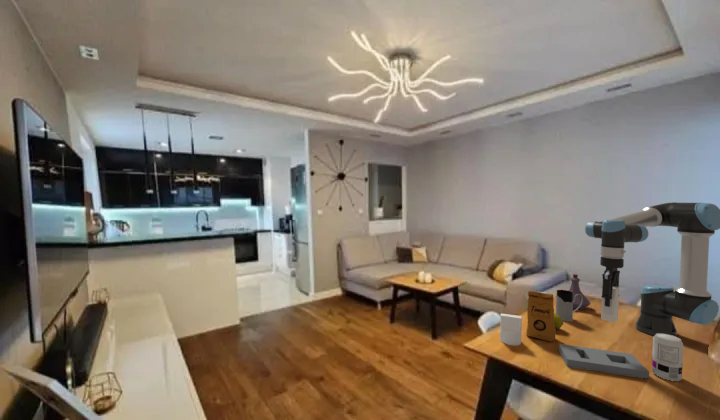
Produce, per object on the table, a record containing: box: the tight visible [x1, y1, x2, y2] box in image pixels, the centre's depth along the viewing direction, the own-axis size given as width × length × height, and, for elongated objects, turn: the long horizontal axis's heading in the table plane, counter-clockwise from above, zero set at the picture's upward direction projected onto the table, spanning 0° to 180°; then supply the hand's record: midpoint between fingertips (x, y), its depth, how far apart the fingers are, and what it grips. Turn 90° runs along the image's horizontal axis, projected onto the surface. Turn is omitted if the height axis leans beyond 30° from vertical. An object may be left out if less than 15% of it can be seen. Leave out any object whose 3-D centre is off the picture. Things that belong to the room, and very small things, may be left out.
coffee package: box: [525, 290, 557, 343], centre depth 152 cm, size 10×12×22 cm
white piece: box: [499, 313, 523, 346], centre depth 149 cm, size 9×9×12 cm
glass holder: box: [555, 289, 583, 322], centre depth 176 cm, size 9×14×15 cm, turn 88°
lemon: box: [554, 312, 564, 330], centre depth 163 cm, size 11×8×8 cm
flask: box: [567, 273, 591, 311], centre depth 193 cm, size 16×16×20 cm
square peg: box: [600, 285, 620, 323], centre depth 132 cm, size 4×4×14 cm
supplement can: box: [651, 333, 684, 382], centre depth 119 cm, size 8×8×15 cm
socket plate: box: [558, 343, 650, 380], centre depth 129 cm, size 26×14×3 cm, turn 70°
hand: (609, 312), depth 132 cm, fingers closed on square peg, 4 cm apart
